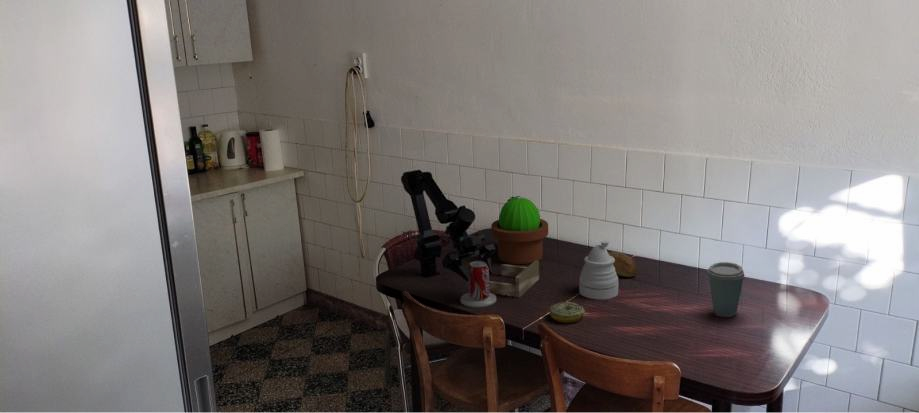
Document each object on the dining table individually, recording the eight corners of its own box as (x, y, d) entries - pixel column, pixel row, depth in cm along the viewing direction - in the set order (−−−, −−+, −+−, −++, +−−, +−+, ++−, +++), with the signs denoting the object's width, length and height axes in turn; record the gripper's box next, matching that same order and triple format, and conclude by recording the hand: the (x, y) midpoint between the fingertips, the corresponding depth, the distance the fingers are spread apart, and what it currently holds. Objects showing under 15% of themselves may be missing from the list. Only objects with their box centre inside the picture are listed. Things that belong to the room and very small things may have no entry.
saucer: (453, 299, 234) (453, 297, 234) (482, 290, 240) (482, 288, 240) (474, 310, 224) (474, 308, 224) (503, 300, 231) (503, 298, 230)
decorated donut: (590, 316, 216) (590, 304, 215) (571, 327, 209) (571, 316, 208) (563, 307, 223) (563, 297, 222) (543, 319, 216) (543, 307, 215)
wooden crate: (481, 291, 239) (480, 272, 237) (502, 274, 255) (502, 256, 253) (519, 297, 233) (518, 277, 231) (539, 279, 248) (538, 260, 247)
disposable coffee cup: (738, 322, 206) (741, 275, 202) (701, 316, 212) (703, 270, 208) (745, 309, 215) (748, 264, 211) (709, 303, 220) (711, 259, 216)
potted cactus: (551, 265, 261) (550, 201, 255) (493, 268, 262) (491, 204, 255) (545, 247, 282) (544, 187, 276) (491, 249, 283) (489, 190, 276)
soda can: (481, 303, 228) (479, 268, 224) (464, 298, 232) (463, 264, 229) (494, 296, 233) (493, 262, 230) (477, 291, 237) (476, 258, 234)
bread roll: (629, 282, 242) (629, 260, 239) (591, 273, 251) (591, 253, 249) (642, 274, 248) (642, 253, 246) (605, 266, 258) (605, 246, 256)
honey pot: (621, 287, 237) (622, 237, 233) (613, 301, 226) (613, 249, 221) (585, 283, 243) (584, 234, 238) (574, 296, 231) (574, 245, 227)
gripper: (444, 231, 224) (464, 272, 218) (491, 220, 234) (512, 259, 227) (433, 248, 233) (452, 288, 226) (479, 237, 242) (499, 275, 236)
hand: (479, 277), depth 229 cm, fingers open, 9 cm apart
